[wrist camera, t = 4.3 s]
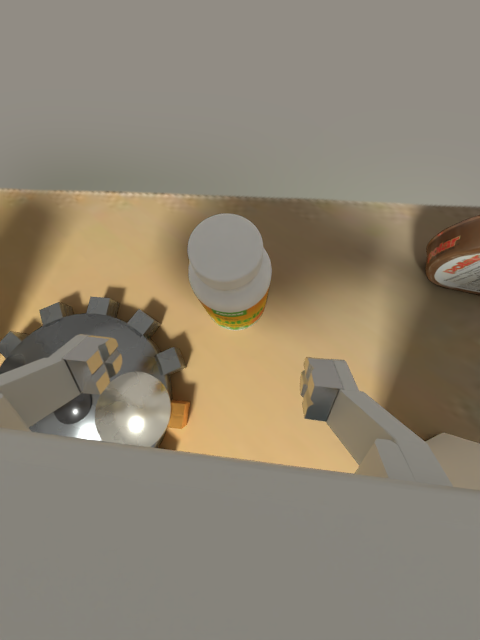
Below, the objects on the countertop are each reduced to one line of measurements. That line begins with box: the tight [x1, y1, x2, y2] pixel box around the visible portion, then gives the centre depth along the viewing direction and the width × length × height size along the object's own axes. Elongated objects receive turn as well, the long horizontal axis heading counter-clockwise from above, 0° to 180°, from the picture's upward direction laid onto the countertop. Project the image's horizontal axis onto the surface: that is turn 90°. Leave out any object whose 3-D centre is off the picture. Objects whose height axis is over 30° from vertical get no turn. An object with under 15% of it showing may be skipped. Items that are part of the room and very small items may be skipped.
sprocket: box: [0, 297, 190, 448], centre depth 17 cm, size 18×18×4 cm
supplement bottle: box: [188, 214, 272, 330], centre depth 16 cm, size 5×5×10 cm
